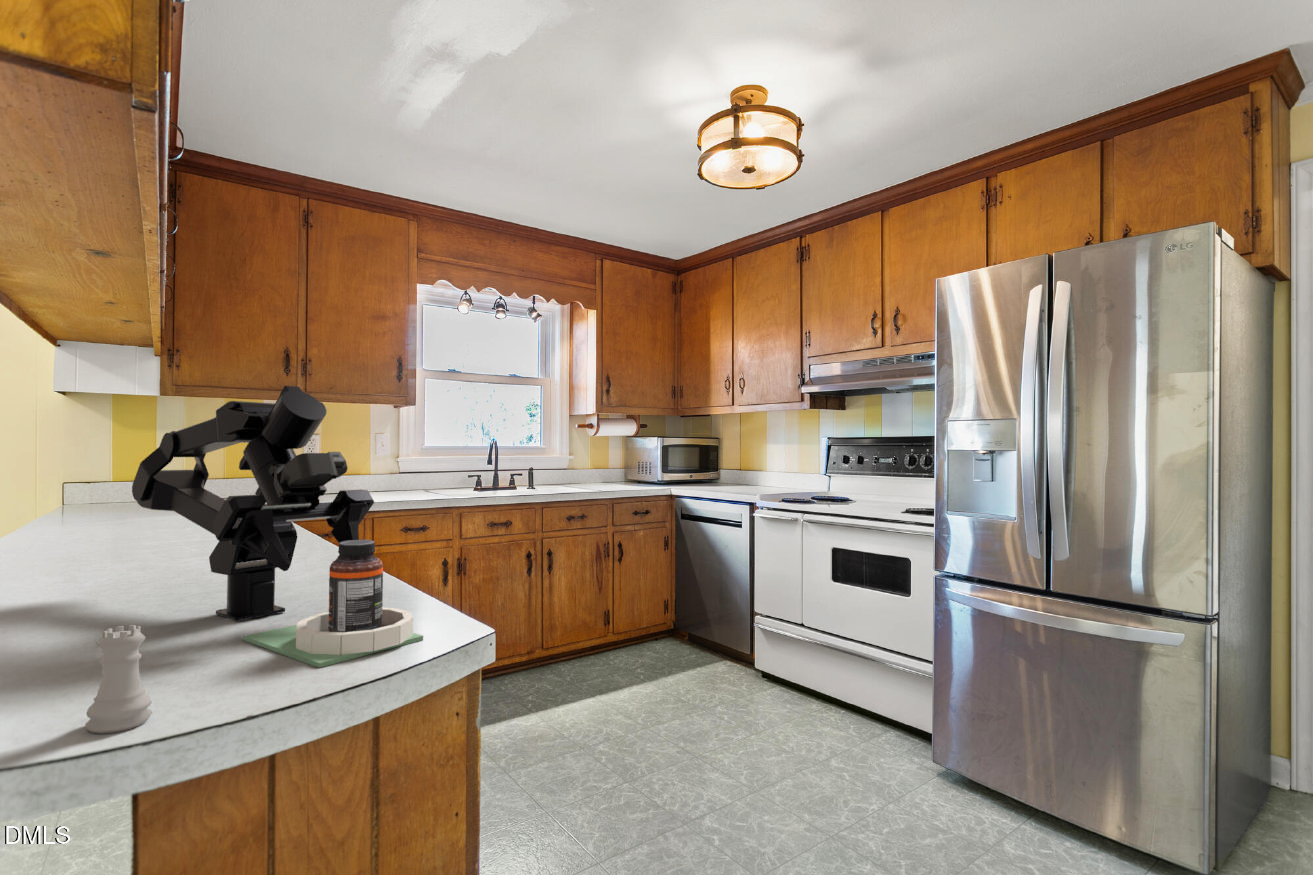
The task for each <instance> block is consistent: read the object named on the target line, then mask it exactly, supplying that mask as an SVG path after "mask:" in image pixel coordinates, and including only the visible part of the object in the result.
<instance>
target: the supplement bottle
mask: <svg viewBox="0 0 1313 875" xmlns="http://www.w3.org/2000/svg"><path fill="white" fill-rule="evenodd" d="M375 552H376V543H375V540H371V539H359V540H348V541H343V542H340V543H338V551H337V553H338V556H337V558H336V559H335V560H333V561H332V562H331V563H330V566H329V578H328V582H329V583H328V584H329V585H328V612H329V626H328V629H329V632H353V631H363V630H372V629H376V628H380V627H382V608H383V605H384V604H383V602H384V601H383V598H384V596H383V595H384V594H383V593H384V592H383V590H384V589H383V588H384V565H383V561H382V560H381V559H380V558H378V557H377V556H375V554H374V553H375Z"/></svg>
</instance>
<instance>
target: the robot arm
mask: <svg viewBox="0 0 1313 875" xmlns="http://www.w3.org/2000/svg"><path fill="white" fill-rule="evenodd" d="M326 415H327V408H326V406H325V404H324V403H323V402H321V401H319V399H317V398H316V397H315V396H313V395H310V394H309V393H306V392H304V391H302V389H301V387H300V386H296V385H295V386H294V385H284V386H283V388H282V389H281V391H280V394H279V396H278V398H277V400H276V401H275V403H273V402H272V403H270V402H269V403H268V402H255V401H241V400H240V401H239V400H229V401H227V402H226V403H224V404H223V405H222V406H220V407H219V408H217V409H216V410H215V417H213V418H211V419H208V420H205V421H202V422H200V423H196V424H192V425H191V426H188V427H184V428H183V429H182V428H181V429H179V430H172V431H170V432H166V433H164V434H163V436H162V438H161V441H160V444H159V446H158V447H157V448H156V449H155V450H154V451H152V452H151V453H150V454H149V455H147V456H146V457H145V458H144V459H143V460H142V461H141V462H140V463H139V466H138V468H137V471H136V474H135V476H134V479H133V481H132V486H131V492H132V494H131V495H132V497H133V499H134V500H135V501H136V503H137V504H138V505H139V506H140V507H141V508H143V509H147V510H152V511H153V510H154V511H167V512H175V513H177V514H178V515H180V516H181V517H184V518H185V519H187V520H188V521H190V522H192V523H193V524H195V525H197V526H199V527H200V528H201V529H204V530H206V531H207V532H209V533H211V534H213V535H214V536H215V538H216V540H217V541H218V542H217V544H216V546H215V547H214V549H213V550H212V552H211V554H210V555H209V556H208V557H209V558H208V559H209V566H210V567H209V568H210V571H211V573H213V574H218V575H219V574H220V575H225V576H227V577H226V578H227V580H226V581H227V585H226V608H223V609H222V608H221V609H217V610H215V615H217V616H220V617H224V618H226V619H230V620H233V621H243V620H248V619H254V618H258V617H259V618H260V617H265V616H269V615H274V614H280V613H281V614H282V613H285V612H286V607H282V606H279V605H275V599H276V597H275V592H276V590H275V589H276V568H278V569H280V570H281V571H282V572H287V571H288V570H289V569H290V568H291V565H292V561H293V557H294V552H295V550H296V545H297V541H298V532H297V529H296V527H295V526H294V524H293V522H300V521H301V522H302V521H308V520H309V521H310V520H311V521H312V520H313V521H314V520H322V519H323V520H324V519H325V520H326V522H327V525H328V527H330V528H332V530H331V531H330V533H331V535H332V536H333V537H334V539H335V541H336V542H337V543H338V544H339V543H340V542H343V541H348V540H360V537H359V536H360V535H359V533H360V530H359V526H360V524H361V522H362V521H363V520H364V518H365V516H366V515H367V514H368V513H369V511H370V509H371V508H372V506H373V505H374V503H375V500H374V499H373V496H372V494H370V493H371V492H370V491H369V490H368V489H344V490H343V489H342V490H339V491H338V493H337V494H336V496H335V497H334V499H333V501H327V502H325V501H324V502H320V497H321V496H324V495H325V493H326V492H327V491H328V490H327V487H326V484H328V483H329V482H331V481H332V480H336V479H337V478H340V477H341V476H343V475H345V474H346V473H347V472H348V463H347V460H346V459H345V456H343V454H342V453H341V452H340V451H328V452H304V453H301V454H296V452H295V450H298V449H302V448H304V447H306V446H307V445H308V443H309V442H310V440H311V439H312V437H313V436H314V434H315V432H316V431H317V430H318V427H319V426H320V425H321V423H322V422H323V420H324V419H325V417H326ZM240 443H245V444H246V443H247V445H246V446H245V448H244V450H243V452H242V453H243V456H242V457H241V459H240V461H239V465H238V469H239V470H241V471H251V473H252V475H253V477H254V479H255V481H256V484H257V486H258V488H257V489H256V491H255V492H254V494H246V495H245V494H244V495H243V494H242V495H229V496H227V498H226V499H224V498H223V497H221V496H220V495H219V496H218V494H217V495H216V494H215V493H213V492H211V491H210V490H207V489H205V486H206V483H207V481H208V478H209V476H210V474H209V471H208V469H207V466H206V464H205V458H206V455H207V454H208V453H211V452H214V451H217V450H221V449H225V448H227V447H231V446H233V445H234V446H235V445H237V444H240ZM174 458H194V461H195V465H194V467H193V469H167V470H166V469H165V470H164V468H165V467H167V466H168V465H169V464H170V463H171V462H172V461H173V459H174Z"/></svg>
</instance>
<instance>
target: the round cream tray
mask: <svg viewBox="0 0 1313 875" xmlns="http://www.w3.org/2000/svg"><path fill="white" fill-rule="evenodd" d="M413 619H414V617H413V614H412V613H411V611H408V610H404V609H401V608H397V607H382V627H380V628H376V629H372V630H363V631H353V632H329V629H328V626H329V611H327V612H320V613H318V614H313V615H310V616H309V617H306V618H304V619H301V620H298V621H297V622H296V625H297V627H296V649H299V650H302V651H305V652H308V653H312V654H331V655H340V654H341V655H344V654H353V653H362V652H371V651H376V650H380V649H384V648H387V647H391V646H395V645H399V644H401V643H403V642H404V641H406V640H407V639H409V638H410V637H412V633H414V632H413V627H414V626H413V625H414V624H413V623H414V622H413V621H414V620H413Z"/></svg>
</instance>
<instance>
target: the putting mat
mask: <svg viewBox="0 0 1313 875" xmlns="http://www.w3.org/2000/svg"><path fill="white" fill-rule="evenodd" d="M296 627H297V624H293V625H289V626H285V627H279V628H276V629H271V630H266V631H261V632H256V633H252V634H251V633H250V634H246V635H243V636H242V637H243V638H242V639H243V641H245V642H247V643H251V644H253V645H256V646H259V647H261V648H264V649H267V650H270V651H271V652H275V653H277V654H281V655H283V656H285V657H289V658H292V659H294V660H296V661H300V662H302V663H305V664H308V665H310V666H313V667H316V668H319V669H320V668H323V667H327V666H331V665H335V664H338V663H339V664H340V663H343V662H347V661H350V660H353V659H357V658H360V657H361V658H362V657H365V656H368V655H372V654H375V653H376V654H377V653H379V652H383V651H386V650H390V649H394V648H398V647H401V646H405V645H409V644H412V643H417V642H419V641H424V635H422V634H419V633H414V632H413V633H412V637H410V638H409V639H407V640H406V641H404V642H403V643H401V644H399V645H395V646H391V647H387V648H384V649H380V650H376V651H371V652H362V653H353V654H344V655H341V654H340V655H331V654H312V653H308V652H305V651H302V650H299V649H296Z"/></svg>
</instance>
